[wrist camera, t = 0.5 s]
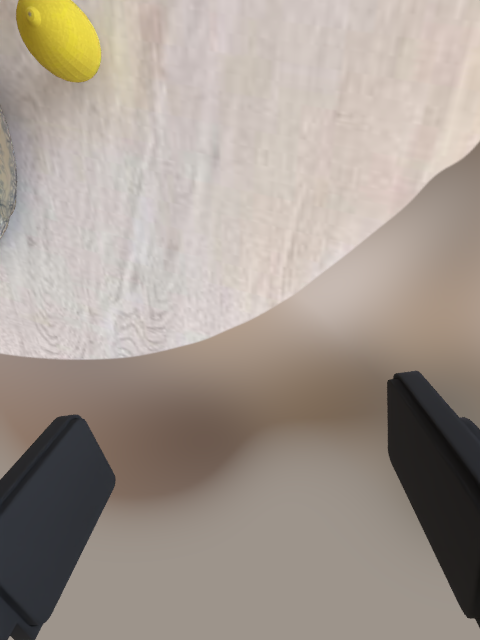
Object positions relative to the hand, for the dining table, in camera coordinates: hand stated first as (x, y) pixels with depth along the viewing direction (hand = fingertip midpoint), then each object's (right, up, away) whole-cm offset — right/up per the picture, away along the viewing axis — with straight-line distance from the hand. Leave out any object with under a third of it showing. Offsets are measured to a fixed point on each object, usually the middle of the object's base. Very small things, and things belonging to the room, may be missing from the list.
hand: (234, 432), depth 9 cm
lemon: (-15, +29, +20) cm, 39 cm away
